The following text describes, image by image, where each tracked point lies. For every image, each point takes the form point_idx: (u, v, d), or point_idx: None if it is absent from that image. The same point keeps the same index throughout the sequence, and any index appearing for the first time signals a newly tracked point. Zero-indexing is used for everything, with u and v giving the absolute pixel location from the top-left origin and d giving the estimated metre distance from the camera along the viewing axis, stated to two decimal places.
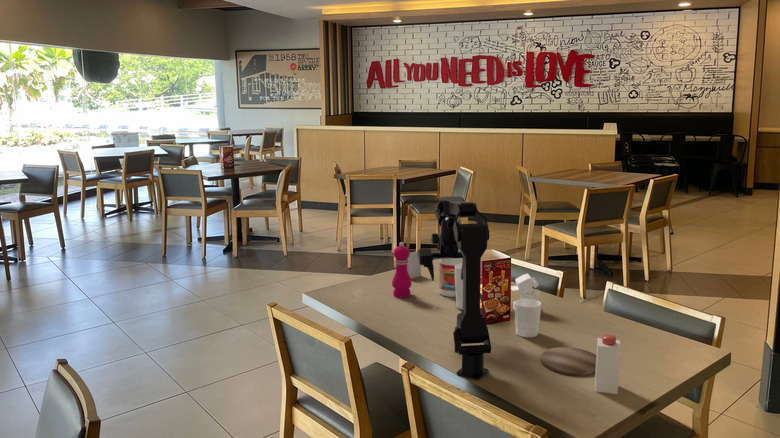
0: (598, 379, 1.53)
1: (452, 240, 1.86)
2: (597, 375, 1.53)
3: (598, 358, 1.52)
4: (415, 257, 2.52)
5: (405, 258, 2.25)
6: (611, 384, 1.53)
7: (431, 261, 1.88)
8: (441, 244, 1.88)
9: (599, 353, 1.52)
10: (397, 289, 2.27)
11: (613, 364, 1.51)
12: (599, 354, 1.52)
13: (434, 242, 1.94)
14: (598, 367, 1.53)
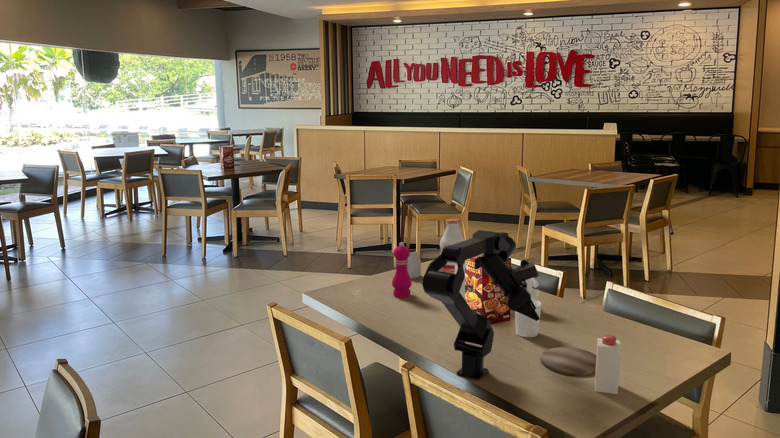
0: (598, 379, 1.53)
1: None
2: (597, 375, 1.53)
3: (598, 358, 1.52)
4: (415, 257, 2.52)
5: (405, 258, 2.25)
6: (611, 384, 1.53)
7: None
8: None
9: (599, 353, 1.52)
10: (397, 289, 2.27)
11: (613, 364, 1.51)
12: (599, 354, 1.52)
13: None
14: (598, 367, 1.53)
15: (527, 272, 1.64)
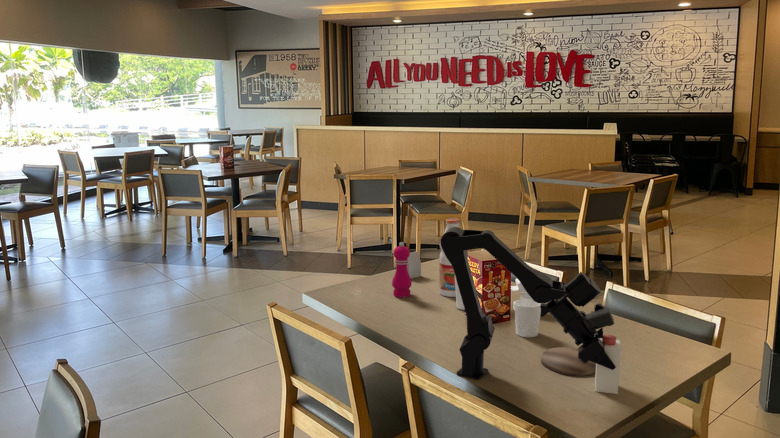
0: (598, 379, 1.53)
1: None
2: (597, 375, 1.53)
3: None
4: (415, 257, 2.52)
5: (405, 258, 2.25)
6: (611, 384, 1.53)
7: None
8: None
9: None
10: (397, 289, 2.27)
11: None
12: None
13: None
14: (598, 367, 1.53)
15: (601, 320, 1.50)
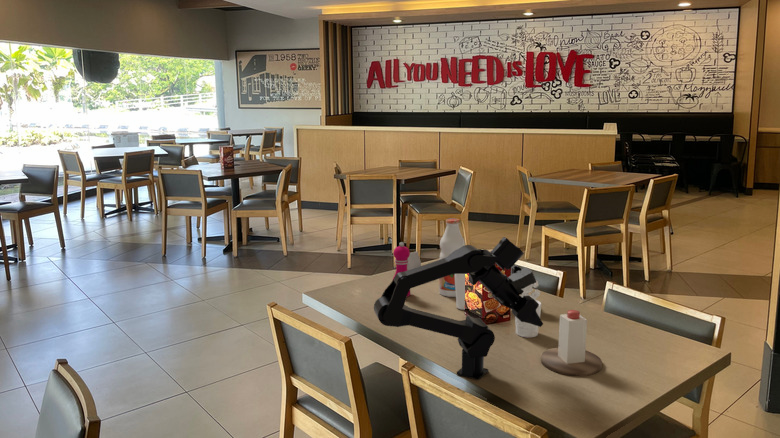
0: (569, 351, 1.67)
1: (490, 291, 1.61)
2: (568, 348, 1.66)
3: (569, 332, 1.65)
4: (415, 257, 2.52)
5: (405, 258, 2.25)
6: (580, 354, 1.67)
7: (497, 300, 1.69)
8: None
9: (570, 328, 1.65)
10: None
11: (581, 335, 1.66)
12: (570, 328, 1.65)
13: None
14: (569, 341, 1.66)
15: (526, 280, 1.60)
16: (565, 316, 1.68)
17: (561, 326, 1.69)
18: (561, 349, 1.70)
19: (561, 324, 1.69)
